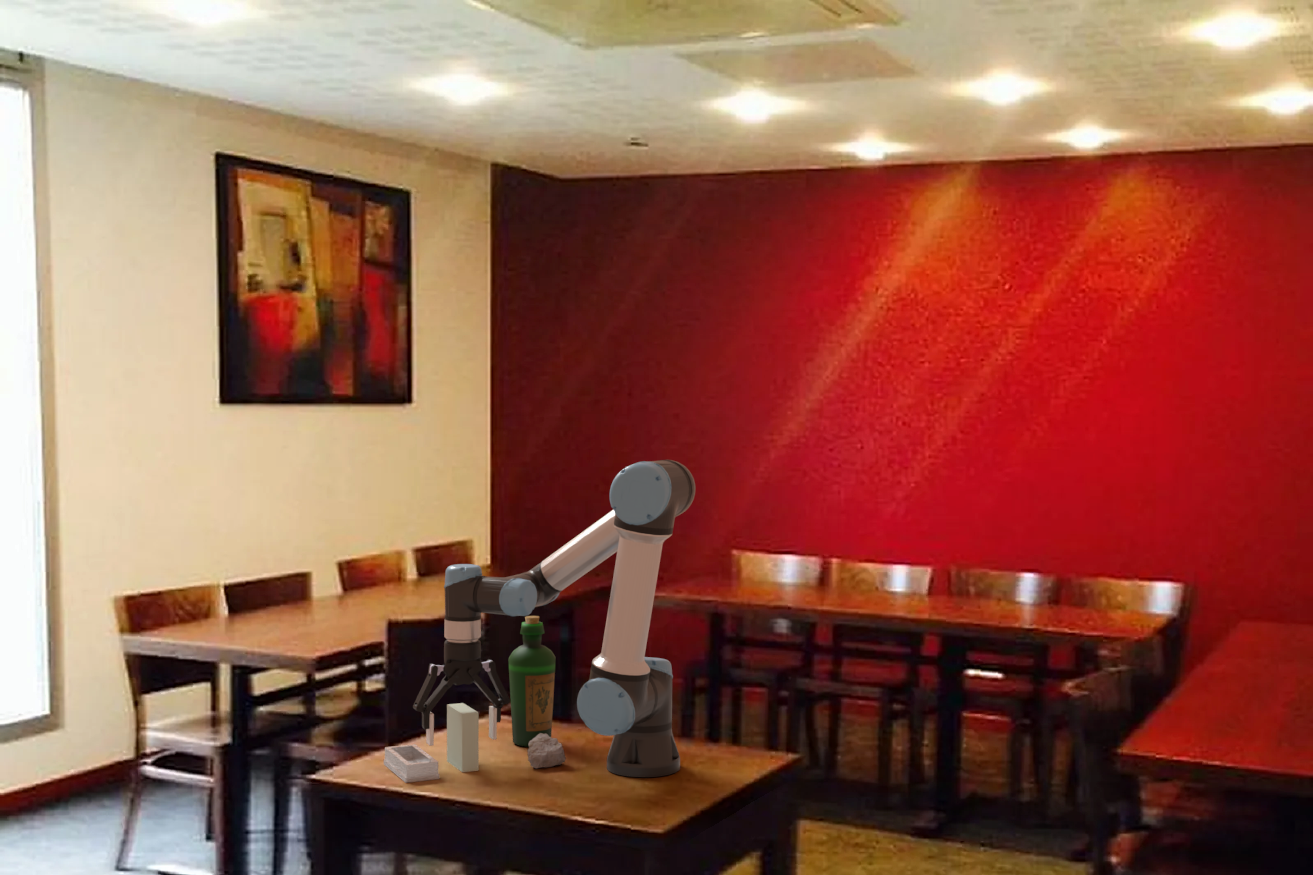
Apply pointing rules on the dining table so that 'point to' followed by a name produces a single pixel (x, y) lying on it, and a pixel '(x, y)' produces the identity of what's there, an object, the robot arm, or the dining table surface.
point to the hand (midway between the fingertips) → (461, 741)
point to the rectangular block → (463, 737)
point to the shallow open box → (411, 763)
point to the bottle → (531, 684)
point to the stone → (545, 751)
